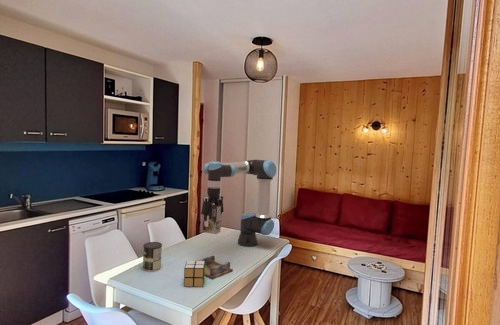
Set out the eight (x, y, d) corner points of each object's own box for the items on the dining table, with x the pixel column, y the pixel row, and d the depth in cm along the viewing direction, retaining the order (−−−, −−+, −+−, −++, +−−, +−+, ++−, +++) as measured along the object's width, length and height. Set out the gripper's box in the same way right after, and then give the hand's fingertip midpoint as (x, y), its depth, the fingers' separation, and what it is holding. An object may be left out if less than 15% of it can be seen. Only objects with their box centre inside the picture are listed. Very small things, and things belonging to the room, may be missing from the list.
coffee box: (220, 231, 177) (222, 205, 177) (215, 234, 171) (217, 207, 171) (207, 229, 180) (208, 203, 180) (202, 232, 174) (203, 205, 174)
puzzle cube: (186, 278, 161) (186, 260, 161) (204, 278, 162) (205, 260, 161) (183, 287, 151) (184, 268, 151) (203, 287, 152) (203, 268, 151)
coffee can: (143, 272, 165) (144, 248, 164) (142, 265, 174) (142, 242, 174) (162, 270, 169) (163, 246, 168) (160, 263, 179) (160, 241, 178)
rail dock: (212, 262, 185) (212, 254, 184) (232, 271, 173) (233, 262, 172) (191, 269, 173) (192, 260, 172) (212, 279, 161) (212, 270, 160)
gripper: (222, 185, 185) (220, 221, 186) (195, 187, 170) (193, 226, 170) (230, 187, 180) (229, 223, 181) (203, 189, 164) (201, 229, 165)
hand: (212, 225), depth 176 cm, fingers closed on coffee box, 8 cm apart
